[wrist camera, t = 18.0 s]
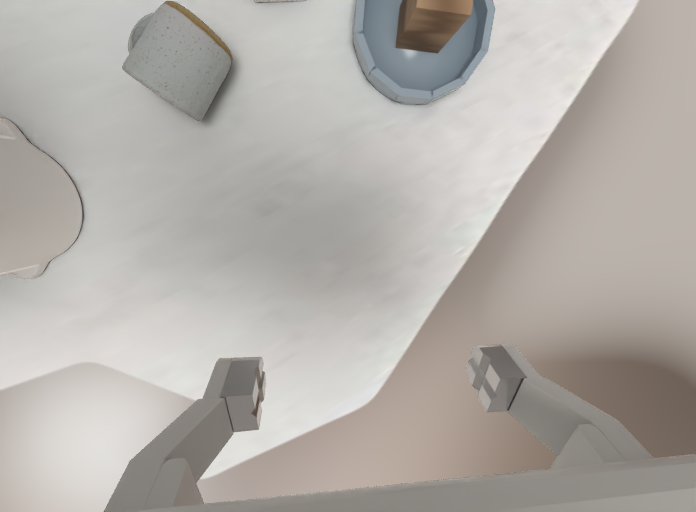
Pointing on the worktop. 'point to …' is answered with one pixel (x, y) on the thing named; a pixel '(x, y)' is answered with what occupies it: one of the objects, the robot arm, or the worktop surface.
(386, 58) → the slate bowl
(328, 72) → the worktop surface
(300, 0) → the skincare box
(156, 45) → the ceramic mug
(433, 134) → the worktop surface
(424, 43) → the walnut block
